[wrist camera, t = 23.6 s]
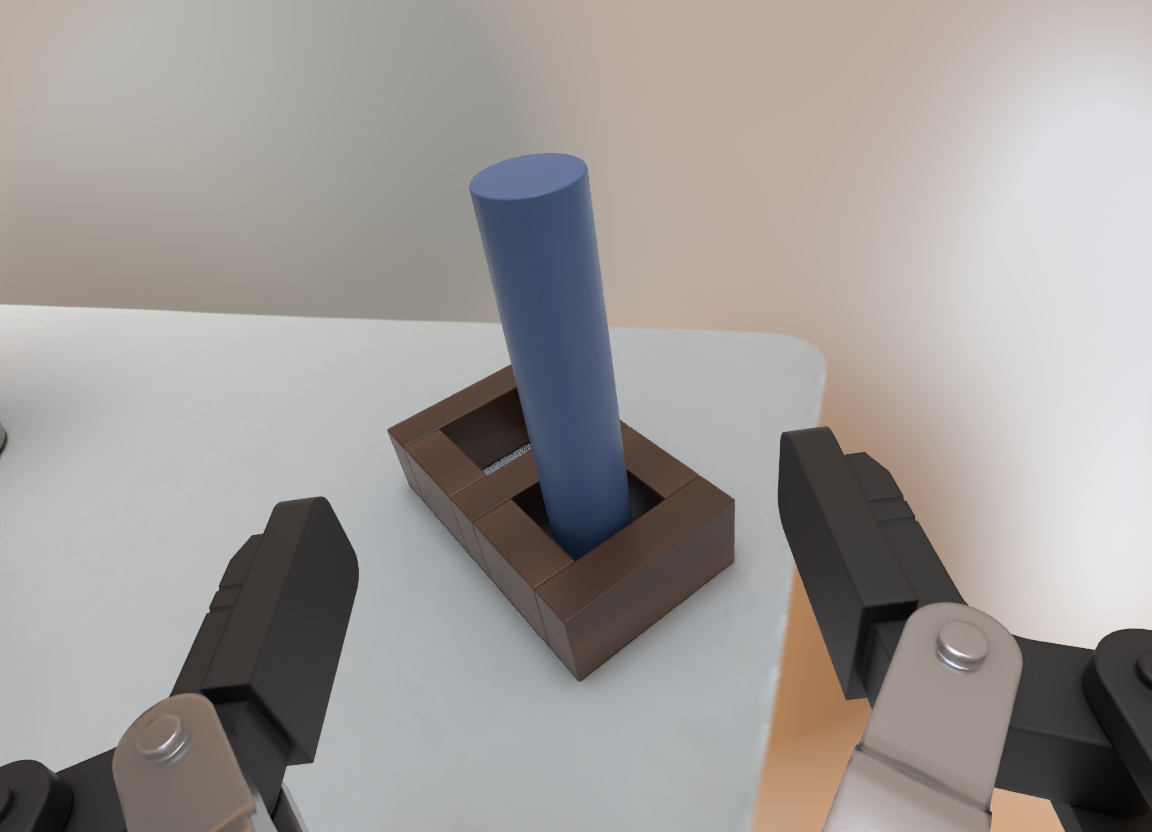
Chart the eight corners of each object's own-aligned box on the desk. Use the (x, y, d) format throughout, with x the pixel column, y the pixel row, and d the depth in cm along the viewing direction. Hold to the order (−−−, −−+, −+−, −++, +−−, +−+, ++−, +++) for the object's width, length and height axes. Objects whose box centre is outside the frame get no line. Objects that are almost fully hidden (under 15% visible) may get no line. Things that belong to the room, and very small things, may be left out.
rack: (408, 484, 34) (386, 429, 32) (539, 409, 37) (527, 355, 35) (579, 682, 25) (564, 624, 22) (735, 560, 28) (735, 499, 25)
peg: (544, 558, 29) (447, 181, 19) (604, 517, 30) (542, 145, 20) (591, 605, 27) (510, 209, 17) (653, 560, 28) (612, 167, 18)
